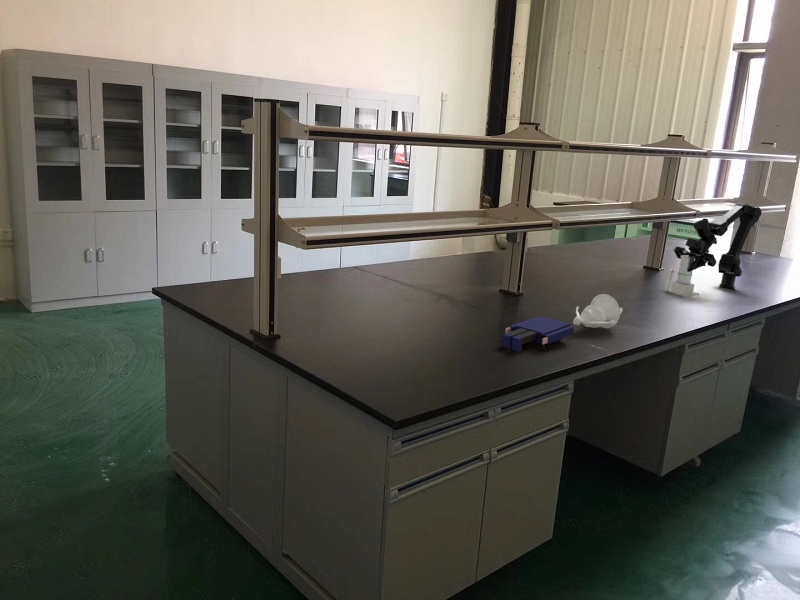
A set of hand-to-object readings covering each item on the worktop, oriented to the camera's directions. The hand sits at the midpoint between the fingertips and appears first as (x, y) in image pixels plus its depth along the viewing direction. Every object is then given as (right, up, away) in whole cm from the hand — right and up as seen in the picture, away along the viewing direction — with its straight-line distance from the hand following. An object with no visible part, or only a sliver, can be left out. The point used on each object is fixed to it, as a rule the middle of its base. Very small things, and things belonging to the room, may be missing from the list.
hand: (683, 270), depth 291 cm
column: (+1, -6, +2) cm, 7 cm away
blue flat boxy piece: (-82, -27, -78) cm, 117 cm away
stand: (0, -10, +3) cm, 10 cm away
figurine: (-57, -24, -60) cm, 86 cm away
